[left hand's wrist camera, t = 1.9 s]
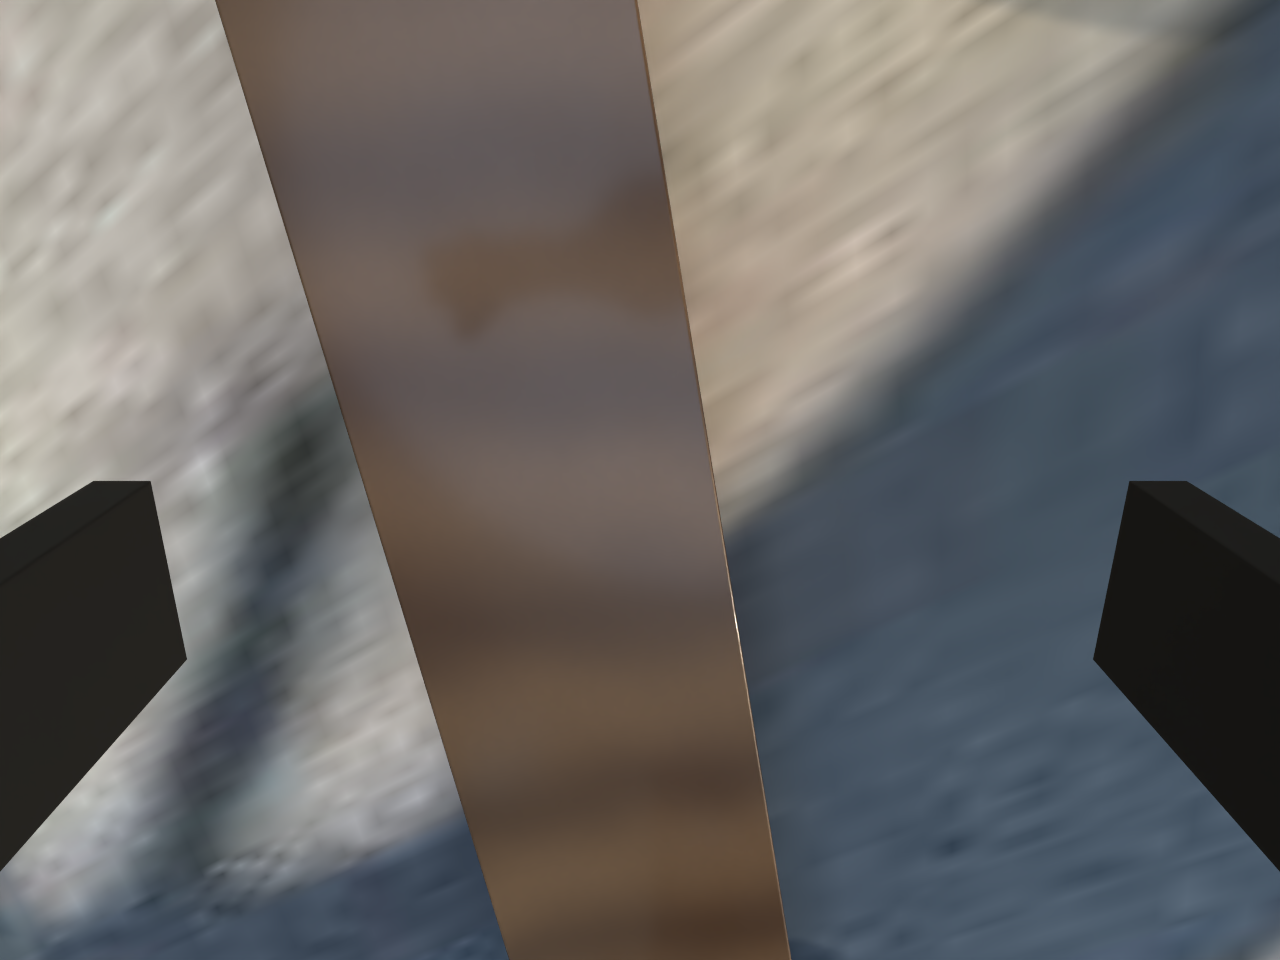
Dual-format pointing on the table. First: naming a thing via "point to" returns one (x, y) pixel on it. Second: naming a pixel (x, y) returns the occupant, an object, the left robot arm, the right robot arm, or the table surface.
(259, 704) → the table surface
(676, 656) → the wide beam
